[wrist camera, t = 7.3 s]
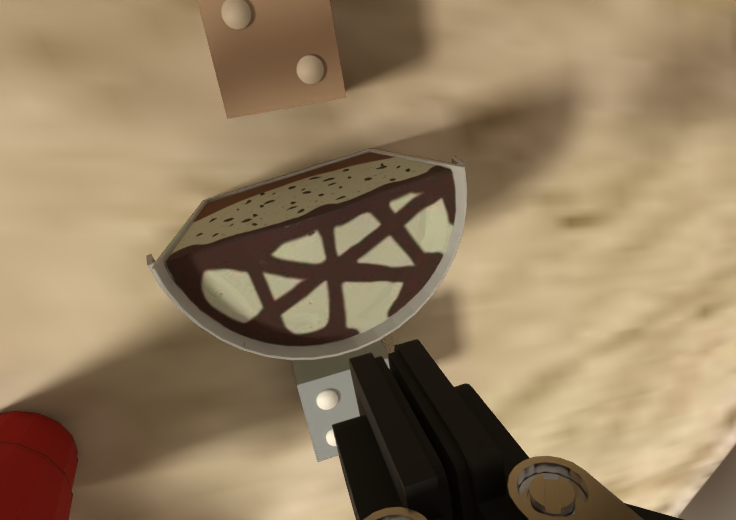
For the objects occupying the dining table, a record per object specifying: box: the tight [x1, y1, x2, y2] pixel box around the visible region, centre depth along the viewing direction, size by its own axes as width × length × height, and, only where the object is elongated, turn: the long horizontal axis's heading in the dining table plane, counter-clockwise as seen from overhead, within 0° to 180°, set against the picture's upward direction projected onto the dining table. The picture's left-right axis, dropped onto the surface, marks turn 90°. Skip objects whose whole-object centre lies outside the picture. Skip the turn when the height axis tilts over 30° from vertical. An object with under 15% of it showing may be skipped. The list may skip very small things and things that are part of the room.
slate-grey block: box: [292, 339, 390, 462], centre depth 28 cm, size 5×5×5 cm
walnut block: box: [197, 0, 346, 119], centre depth 21 cm, size 5×5×5 cm
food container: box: [147, 148, 467, 360], centre depth 22 cm, size 12×6×10 cm, turn 105°
